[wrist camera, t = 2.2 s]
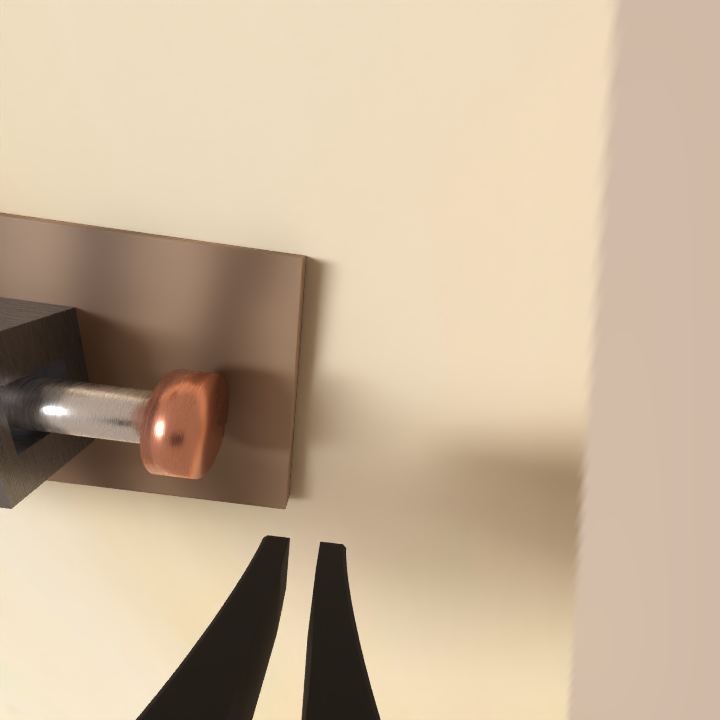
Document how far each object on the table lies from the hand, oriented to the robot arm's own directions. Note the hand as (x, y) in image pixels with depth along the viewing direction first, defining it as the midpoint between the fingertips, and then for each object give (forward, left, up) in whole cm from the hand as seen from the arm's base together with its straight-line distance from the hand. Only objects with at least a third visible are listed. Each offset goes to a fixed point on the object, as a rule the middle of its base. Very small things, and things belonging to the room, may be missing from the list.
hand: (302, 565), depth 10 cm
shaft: (-6, +8, -8) cm, 13 cm away
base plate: (-7, +9, -9) cm, 15 cm away
